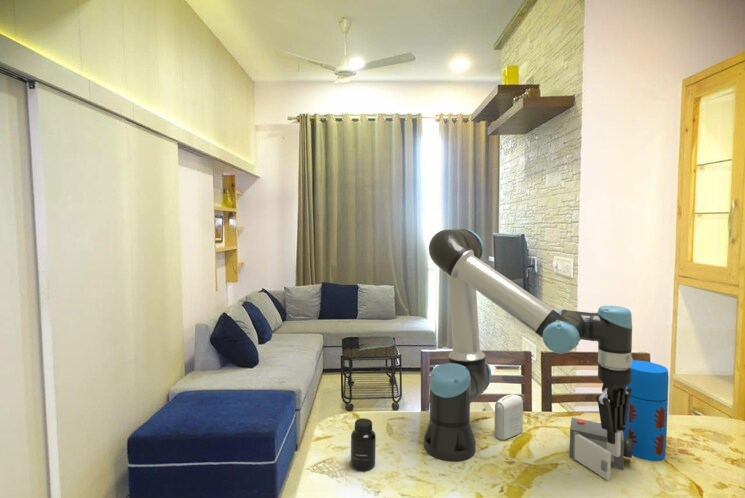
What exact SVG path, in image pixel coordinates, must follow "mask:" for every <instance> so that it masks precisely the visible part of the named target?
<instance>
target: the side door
mask: <svg viewBox="0 0 745 498" xmlns="http://www.w3.org/2000/svg"><path fill="white" fill-rule="evenodd" d="M572 459H573V460H575V461H577V462H579V463H580V464H582V465H584V466H585V467H586V468H587V469H590V470H591V471H593V472H594V473H596V474H597V475H599V476H600V477H601V478H603V479H604V480H606V481H607V480H610V479H611V468H612V467H611V452H609V451H608V450H606V449H604V448H602V447H601V446H599V445H597V444H596V443H594V442H592V441H590V440H589V439H587V438H585V437H583V436H582V435H580V434H578V432H573V457H572Z"/></svg>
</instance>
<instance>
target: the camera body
mask: <svg viewBox="0 0 745 498" xmlns="http://www.w3.org/2000/svg"><path fill="white" fill-rule="evenodd" d="M620 431H621V453H620V456H619V457H616V456H614V455H612V454H611V467H610V468H614V469H618V470H622V471H623V470H624V457H626V458H629V459H632V458H633V455H632V438H627V437H624V435H623V431H622V430H620ZM573 432H578V434H580V435H582V436H583V437H585V438H587V439H589V440H590V441H592V442H594V443H596V444H597V445H599V446H601V447H602V448H604V449H606V450H607V430H605V429H602V427H601V422H595V421H592V420H586V419H582V418H576V417H571V420H570V426H569V458H573Z"/></svg>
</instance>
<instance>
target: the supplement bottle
mask: <svg viewBox="0 0 745 498" xmlns="http://www.w3.org/2000/svg"><path fill="white" fill-rule="evenodd" d="M376 436H377V435H376V433H375V431H374V430H373V421H372V420H371V419H369V418H363V417H362V418H357V419H356V420H355V421H354V429H353V431H352V432H351V434H350V465H351V467H352V468H353V469H354V470H356V471H359V472H366V471H369V470H372V469H373V468H374V467H375V465H376V447H377V445H376V441H377V439H376Z"/></svg>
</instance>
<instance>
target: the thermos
mask: <svg viewBox="0 0 745 498" xmlns="http://www.w3.org/2000/svg"><path fill="white" fill-rule="evenodd" d="M630 369H631V383H630V384H628V385H626V387H627V388H630V389H632V392H631V395H630V398H629V406H628V413H627V421H626V425H625V426H623V428H626V429H625V431H623V435H624V437H627V438H632V457H635V458H637V459H640V460H644V461H648V462H649V461H650V462H661V461H663V460H664V459H665V458H666V451H667V435H668V434H667V433H668V407H669V405H668V404H669V403H668V402H669V379H670V378H669V369H668V368H667V367H666V366H664V365H661V364H658V363H655V362H652V361H651V362H650V361H647V360H646V361H644V360H634V359H633V360H632V361H631V367H630Z"/></svg>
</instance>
